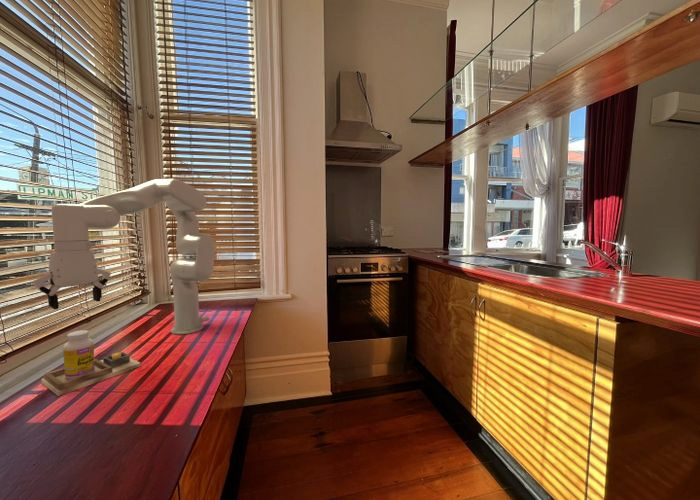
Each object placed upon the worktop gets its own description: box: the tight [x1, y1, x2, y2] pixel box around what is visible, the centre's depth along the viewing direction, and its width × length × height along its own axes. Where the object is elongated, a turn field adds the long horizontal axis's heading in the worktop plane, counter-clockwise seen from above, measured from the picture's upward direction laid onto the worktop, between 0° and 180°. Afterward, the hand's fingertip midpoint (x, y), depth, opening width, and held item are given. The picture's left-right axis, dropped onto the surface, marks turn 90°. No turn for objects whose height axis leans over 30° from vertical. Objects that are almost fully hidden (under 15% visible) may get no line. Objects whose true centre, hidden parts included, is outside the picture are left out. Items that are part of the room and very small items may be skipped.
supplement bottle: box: [62, 329, 95, 380], centre depth 89 cm, size 7×7×13 cm
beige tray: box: [41, 351, 142, 397], centre depth 92 cm, size 20×13×3 cm, turn 150°
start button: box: [111, 352, 121, 360], centre depth 97 cm, size 2×2×3 cm
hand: (76, 304), depth 89 cm, fingers open, 9 cm apart
